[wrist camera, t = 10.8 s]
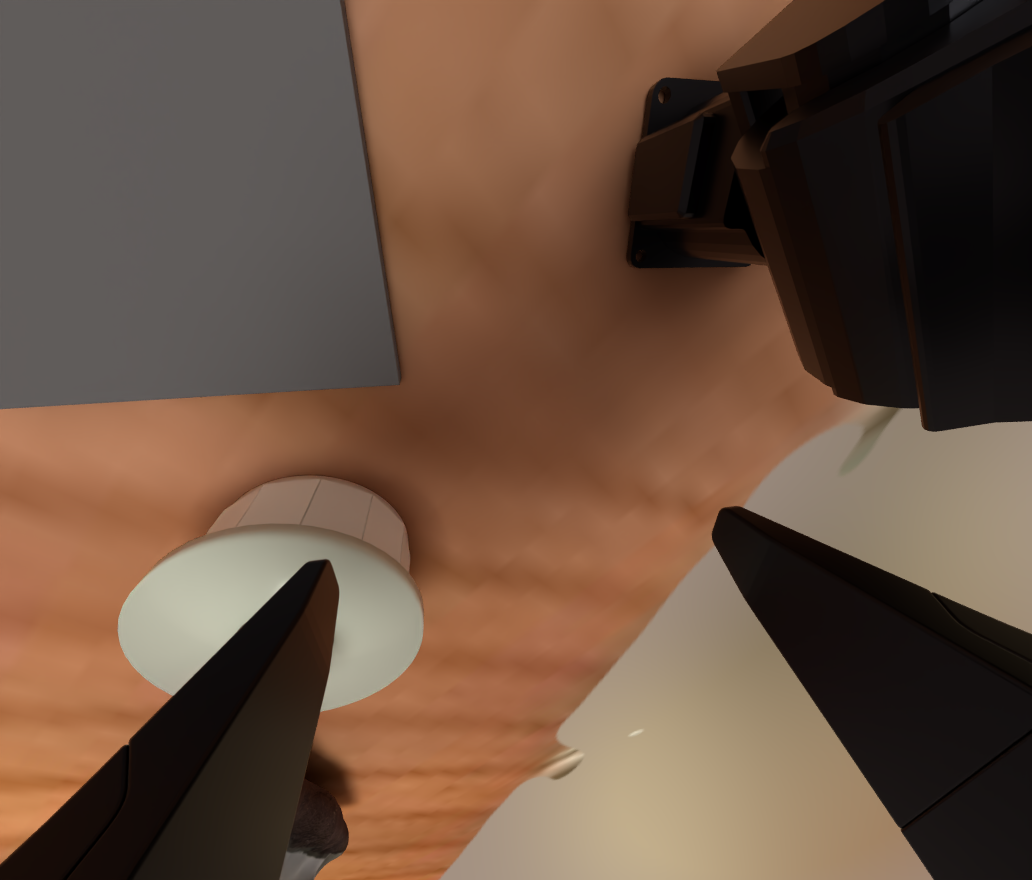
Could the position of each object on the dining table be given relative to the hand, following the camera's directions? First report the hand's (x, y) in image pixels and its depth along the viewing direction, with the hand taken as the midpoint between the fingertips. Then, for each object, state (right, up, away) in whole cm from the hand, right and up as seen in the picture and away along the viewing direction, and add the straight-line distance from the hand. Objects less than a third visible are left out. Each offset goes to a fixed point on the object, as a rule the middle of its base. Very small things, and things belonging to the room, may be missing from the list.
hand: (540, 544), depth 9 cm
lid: (-11, -6, +9) cm, 16 cm away
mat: (-14, +12, +4) cm, 19 cm away
